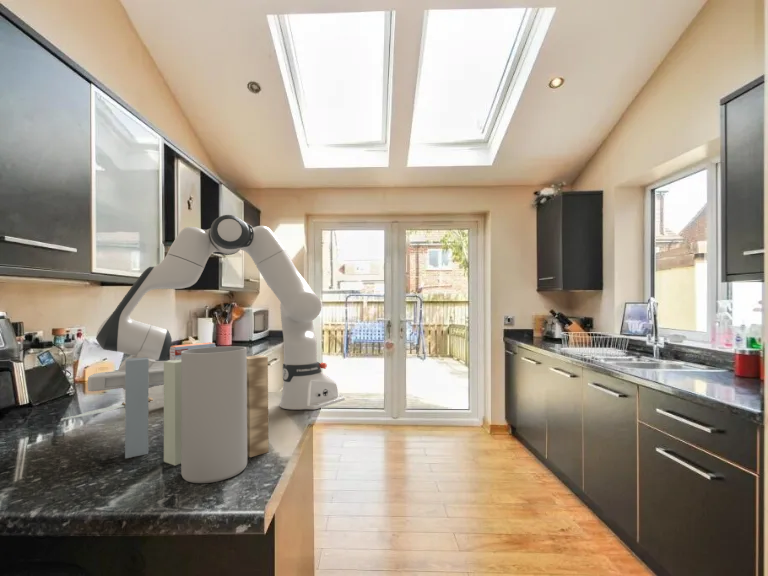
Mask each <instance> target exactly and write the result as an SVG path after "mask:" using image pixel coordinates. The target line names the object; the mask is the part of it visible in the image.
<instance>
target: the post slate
mask: <svg viewBox="0 0 768 576" xmlns="http://www.w3.org/2000/svg"><path fill="white" fill-rule="evenodd" d="M125 359H126V384H125V389H124V390H125V393H124V394H125V398H124V399H125V400H124V401H125V402H124V403H125V407H124V409H125V413H124V415H125V416H124V417H125V419H124V421H125V425H124V426H125V427H124V431H125V432H124V433H125V434H124V435H125V436H124V459H129V458H133V457H134V458H135V457H139V456H144V455H148V454H149V402H148V397H149V388H148V369H149V359H148V357H145V358H132V359H127V358H125Z"/></svg>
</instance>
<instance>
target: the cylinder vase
mask: <svg viewBox="0 0 768 576" xmlns="http://www.w3.org/2000/svg"><path fill="white" fill-rule="evenodd" d="M247 354H248V353H247V347H246V346H215V347H207V348H197V349H190V350H185V351H182V352H181V464H180V470H181V471H180V472H181V476H182V479H183V480H184V481H186V482H189V483H194V484H212V483H217V482H221V481H224V480H227V479H230V478H233V477H235V476H237V475H239V474H240V473H242V472H243V471H244V470H245V469H246V467H247V465H248V456H247V357H248V355H247Z"/></svg>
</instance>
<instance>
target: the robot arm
mask: <svg viewBox="0 0 768 576" xmlns="http://www.w3.org/2000/svg"><path fill="white" fill-rule="evenodd" d="M211 223H212V224H211V225H210V228H208V229H202V228H199V227H196V226H187V227H184V228H183V229H181V231H180V232H179V233H178V234H177V236H176V237H175V239H174V241H173V242H172V243H171V245H170V247H169V249H168V251H167V253H166V255H165V257H164V258H163V259H162V260H161V262H160V263H158V264H156V265H155V266H149V267H147V268H146V269H145V270H144V271H143V272H141V274H140V276H139V277H138V278H137V280H136V281H135V282H134V283H133V284H132V286H131V287H130V289H128V291H127V292H126V294H125V295H124V297H123V298H122V299H121V301H120V302H119V303H118V305H117V307H116V308H115V310H114V311H113V312H112V313H111V314H110V315H109V316H108V317H107V318H106V319H105V320H104V321H103V322H102V323H101V325H99V328H98V330H97V331H96V337H95V339H96V341H97V343H98V345H99V346H100V347H101V348H102V350H105V351H111V352H116V353H117V352H119V353H123V354H125V355H127V354H128V355H130V356H128V357H127V358H125V359H124V360H123V361H122V362H121V363H120V366H119V368H118V370H116V371H115V370H114V371H103V372H102V371H101V372H97V373H93V374H92V375H90V376H88V377H87V391H89V392H99V391H108V390H116V389H118V390H119V389H123V390H125V384H126V359H132V358H145V357H148V359H149V369H148V389H150V388H151V389H152V388H154V387H159V386H162V385H163V386H164V362H165V361H172V360H170V359H167V357H168V355H169V354H170V347H171V346H172V340H173V339H172V336H171V333H170V332H169V330H168V329H167V328H163V327H160V326H157V325H153V324H149V323H146V322H142V321H139V320H135V319H133V318H132V317H131V314H132V313H133V311H134V310H135V308H136V307H137V306H138V304H139V303H140V301H141V300H142V299H143V298H144V296H145V295H146V294H147V293H149V292H150V291H155V290H160V289H161V290H163V289H165V290H179V289H185V288H190V287H192V286H193V285H195V284H196V283H197V282H198V280H199V279H200V278H201V275H202V273H203V271H204V269H205V267H206V264H207V262H208V260H209V258H210V256H211V255H212V254H213V255H214V254H215V255H223V256H230V255H234V254H237V253H238V252H240V251H244V252H245V253H246V254H248V255H249V257H250V258H251V259H252V261H253V263H254V265H255V267H256V268H257V270H258V271H259V273H260V274H261V276H262V278H263V280H264V281H265V283H266V285H267V286H268V288H270V290H271V291H272V292H273V294H274V295H275V296H276V298H277V299H278V301H279V302H280V307H279V308H280V319H281V320H280V321H281V322H280V323H281V329H282V337H283V363H282V379H283V383H282V393H281V399H280V401H279V407H280V408H281V409H285V410H317V409H321V408H324V407H328V406H331V405H334V404H338V403H340V402H343V401H346V400H345V396H344V395H342V394H339V390H338V385H337V383H336V382H335V380H333V379H332V378H330V377H329V376H327V375H326V374H325V373H324V372H322V369H324V370H325V369H327V367H328V364H327V362H318V359H317V358H318V355H317V354H318V353H317V352H318V350H317V337H316V333H315V328H314V324H313V323H314V320H315V319H316V318H318V317H319V315H320V313H321V312H322V302H321V299H320V298H319V296H318V295H317V294H316V293H315V291H314V290H313V288H311V285H309V283H308V282H307V281H306V279H305V278H304V276H303V275H301V273H300V272H299V270H298V268H297V267H296V266H295V263H294V262H293V260H292V259H291V257H290V256H289V253H288V251H287V250H286V248H285V247H284V245H283V243H282V242H281V241H280V240H279V239H280V238H278V237H277V235H276V234H275V233H274V232H273V231H272V229H271V228H270V227H268V226H266V225H257V226H254V227H253V226H252V225H250V224H249V223H248V222H246V221H244V220H242V219H241V218H240V217H237V216H236V215H233V214H223V215H221V216H218V217H217V218H216V219H214V220H213V221H212V222H211Z"/></svg>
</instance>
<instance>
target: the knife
mask: <svg viewBox="0 0 768 576" xmlns="http://www.w3.org/2000/svg"><path fill="white" fill-rule="evenodd" d="M149 401H153V402H154V398H153V397H150V396H148V403H150V402H149ZM123 408H124V409H125V402H122V403H120V404H117V405H112V406H108V407H103V408H99V409H94V410H89V411H86V412H84V413H81V414H76V415H73V416H69V417H64V418H62V420H67V419H74V418H80V417H85V416H91V415H95V414H101V413H106V412H111V411H114V410H119V409H123Z"/></svg>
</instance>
